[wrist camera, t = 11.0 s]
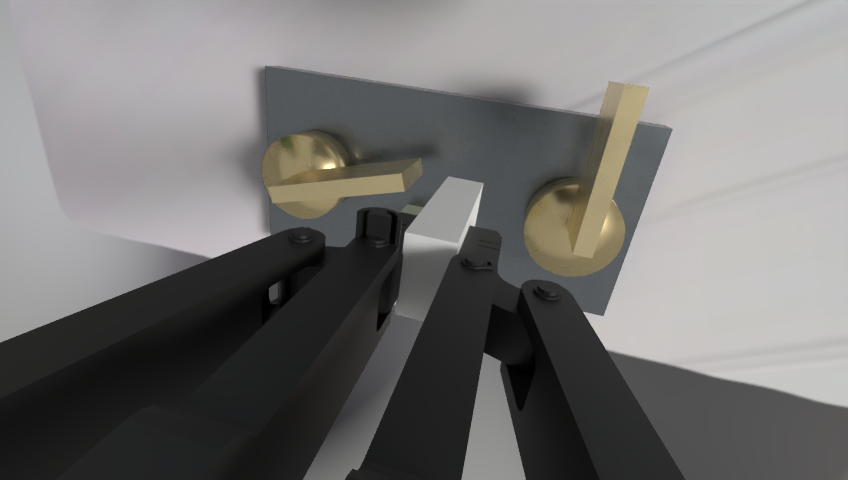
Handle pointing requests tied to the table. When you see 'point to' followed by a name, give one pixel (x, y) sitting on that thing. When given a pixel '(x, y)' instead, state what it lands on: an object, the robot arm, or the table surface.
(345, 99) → the level plate
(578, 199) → the near knob
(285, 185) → the far knob
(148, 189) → the table surface
